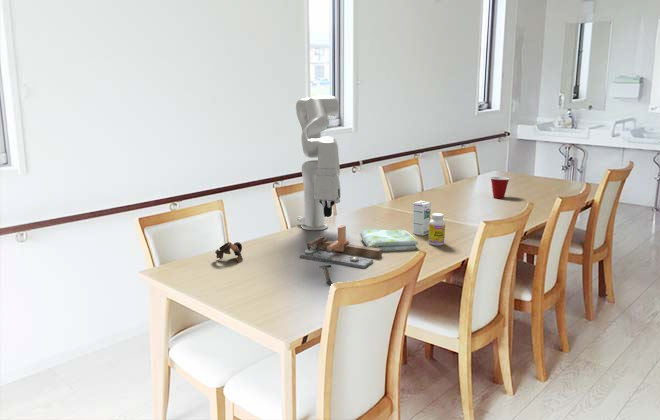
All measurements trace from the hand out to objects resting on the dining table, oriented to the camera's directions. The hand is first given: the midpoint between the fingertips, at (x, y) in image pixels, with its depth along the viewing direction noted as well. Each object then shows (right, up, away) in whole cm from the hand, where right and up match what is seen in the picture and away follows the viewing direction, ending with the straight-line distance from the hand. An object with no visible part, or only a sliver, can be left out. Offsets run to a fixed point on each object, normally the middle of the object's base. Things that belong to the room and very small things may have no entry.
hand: (327, 216), depth 236 cm
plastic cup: (+98, +9, +97) cm, 139 cm away
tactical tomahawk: (-1, -22, -27) cm, 34 cm away
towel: (+26, -13, +10) cm, 30 cm away
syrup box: (+42, -8, +26) cm, 50 cm away
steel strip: (+3, -17, -10) cm, 20 cm away
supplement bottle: (+46, -12, +11) cm, 49 cm away
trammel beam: (+6, -16, -5) cm, 17 cm away
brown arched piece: (-38, -17, -9) cm, 42 cm away
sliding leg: (+4, -14, -3) cm, 15 cm away
